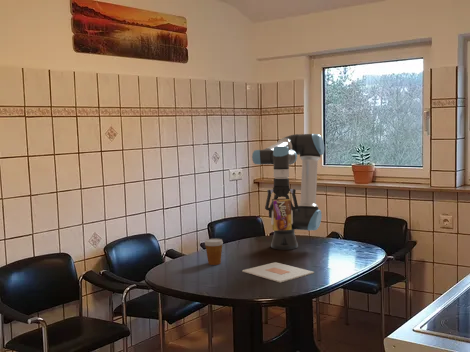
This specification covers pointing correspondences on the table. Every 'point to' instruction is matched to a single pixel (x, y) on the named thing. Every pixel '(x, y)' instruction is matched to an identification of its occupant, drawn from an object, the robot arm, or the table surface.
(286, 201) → the candy box
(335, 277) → the table surface
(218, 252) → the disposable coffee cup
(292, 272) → the mat
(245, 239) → the table surface
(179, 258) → the table surface
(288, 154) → the robot arm
